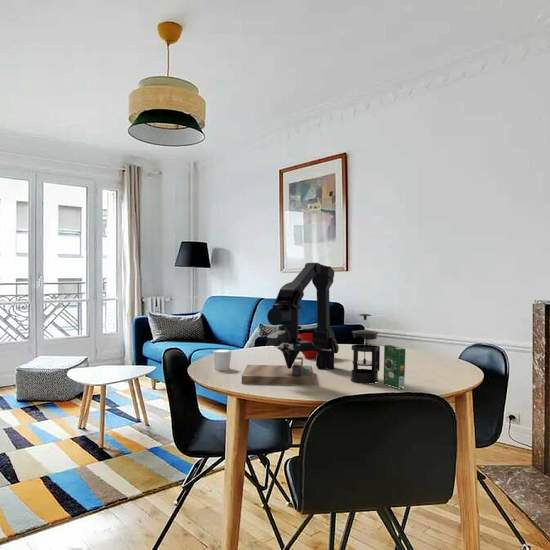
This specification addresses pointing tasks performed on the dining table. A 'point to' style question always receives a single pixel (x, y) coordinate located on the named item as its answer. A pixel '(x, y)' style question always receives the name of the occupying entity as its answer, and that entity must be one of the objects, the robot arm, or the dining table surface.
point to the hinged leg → (297, 366)
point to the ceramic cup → (309, 338)
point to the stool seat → (276, 375)
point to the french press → (364, 374)
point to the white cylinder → (222, 359)
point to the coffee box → (394, 366)
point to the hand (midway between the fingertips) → (289, 368)
